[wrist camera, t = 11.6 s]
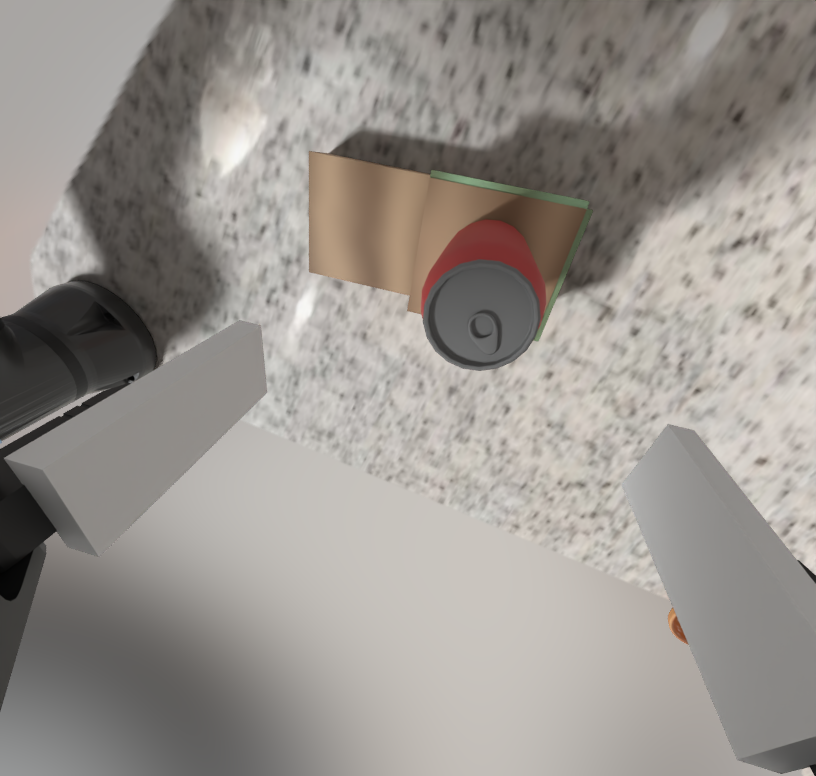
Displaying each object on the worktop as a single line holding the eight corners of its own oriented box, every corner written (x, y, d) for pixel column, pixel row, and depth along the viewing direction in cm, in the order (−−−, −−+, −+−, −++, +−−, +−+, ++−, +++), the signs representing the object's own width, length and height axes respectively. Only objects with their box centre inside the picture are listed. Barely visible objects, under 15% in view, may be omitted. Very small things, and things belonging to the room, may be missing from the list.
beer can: (459, 318, 29) (440, 393, 19) (430, 240, 26) (390, 281, 16) (539, 290, 26) (567, 360, 16) (516, 201, 24) (532, 221, 14)
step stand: (325, 263, 37) (289, 282, 30) (328, 147, 31) (284, 140, 25) (530, 310, 35) (538, 341, 29) (573, 196, 29) (597, 203, 23)
